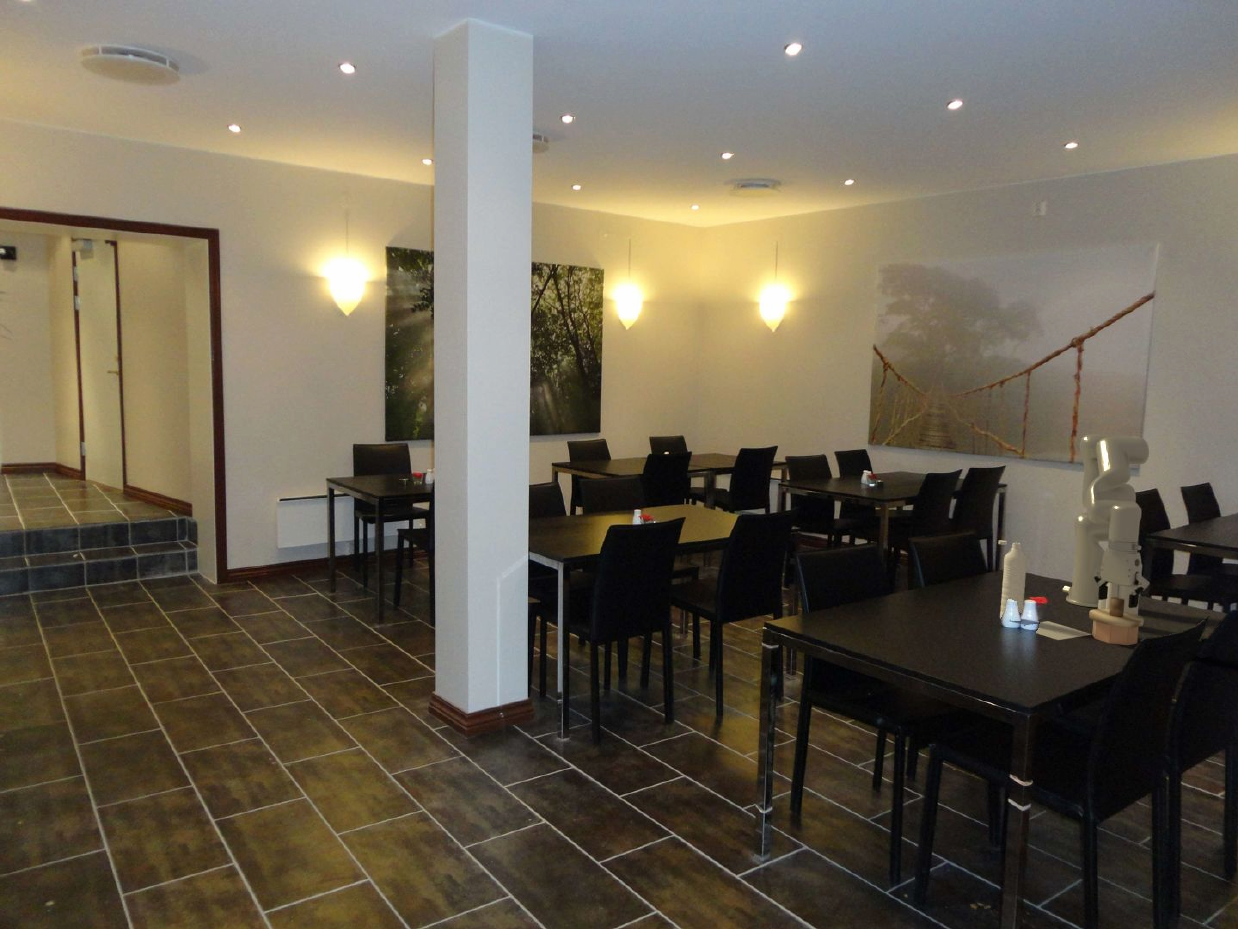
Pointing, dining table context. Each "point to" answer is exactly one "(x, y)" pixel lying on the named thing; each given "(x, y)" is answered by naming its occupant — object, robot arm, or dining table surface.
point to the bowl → (1115, 634)
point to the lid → (1116, 615)
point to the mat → (1058, 631)
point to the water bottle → (1013, 576)
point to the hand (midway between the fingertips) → (1117, 603)
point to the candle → (1118, 592)
